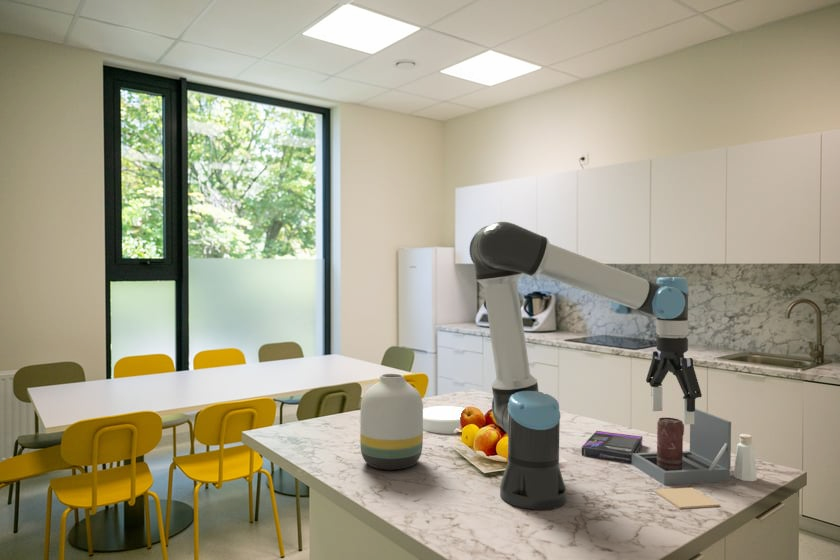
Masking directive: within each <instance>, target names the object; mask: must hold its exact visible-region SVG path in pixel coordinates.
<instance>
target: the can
mask: <svg viewBox="0 0 840 560" xmlns="http://www.w3.org/2000/svg"><path fill="white" fill-rule="evenodd" d="M656 425H657V427H656V429H657V431H656V433H657V434H656V436H657V437H656V439H657V440H656V452H657V466H658V467H660V468H662V469H664V470H665V471H673V470H683V469H682V459H683V451H684V449H683V446H684V445H683V443H684V441H683V440H684V433H685V425H684V424H683V420H680V419H678V418H674V417H660V418H659V419H658V421H657V424H656Z"/></svg>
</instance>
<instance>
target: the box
mask: <svg viewBox="0 0 840 560" xmlns="http://www.w3.org/2000/svg"><path fill="white" fill-rule="evenodd" d="M641 446H643V436H641V435H634V434H633V435H632V434H623V433H617V432H609V431H602V430H596V431H595V432H594V433H593V434H592V435H591V436H590V437H589V438H588V440H586V441H585V443H584V444H583V445H582V446H581V457H582V456H583V457H588V458H589V457H591V458H595V459H596V458H597V459H601V460H608V461H615V462H620V463H626V464H631V465H632V453H640V451H641V448H642V447H641Z"/></svg>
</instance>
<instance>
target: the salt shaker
mask: <svg viewBox="0 0 840 560" xmlns="http://www.w3.org/2000/svg"><path fill="white" fill-rule="evenodd" d="M752 438H753V436H752V435H751V434H746V433H741V434H739V443H737V445H736V452H735V461H734V468H733V474H732V475H733V477H734V478H735V479H737V480H740V481H745V482H755V481H757V480H758V475H757V465H756V458H755V457H756V455H755V454H756V453H755V446H754V445H753V444H752V441H753V439H752Z"/></svg>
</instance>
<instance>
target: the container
mask: <svg viewBox="0 0 840 560" xmlns="http://www.w3.org/2000/svg"><path fill="white" fill-rule="evenodd" d="M464 409H465V407H460V406H450V405H447V406H446V405H440V406H439V405H438V406H430V407H429V406H428V407H425V408H423V431H426V432H429V433H437V434H449V435H450V434H455V433H454V430H455V429H456V428H458V427H459V425H460V417H461V413H462V411H463V410H464Z"/></svg>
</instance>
